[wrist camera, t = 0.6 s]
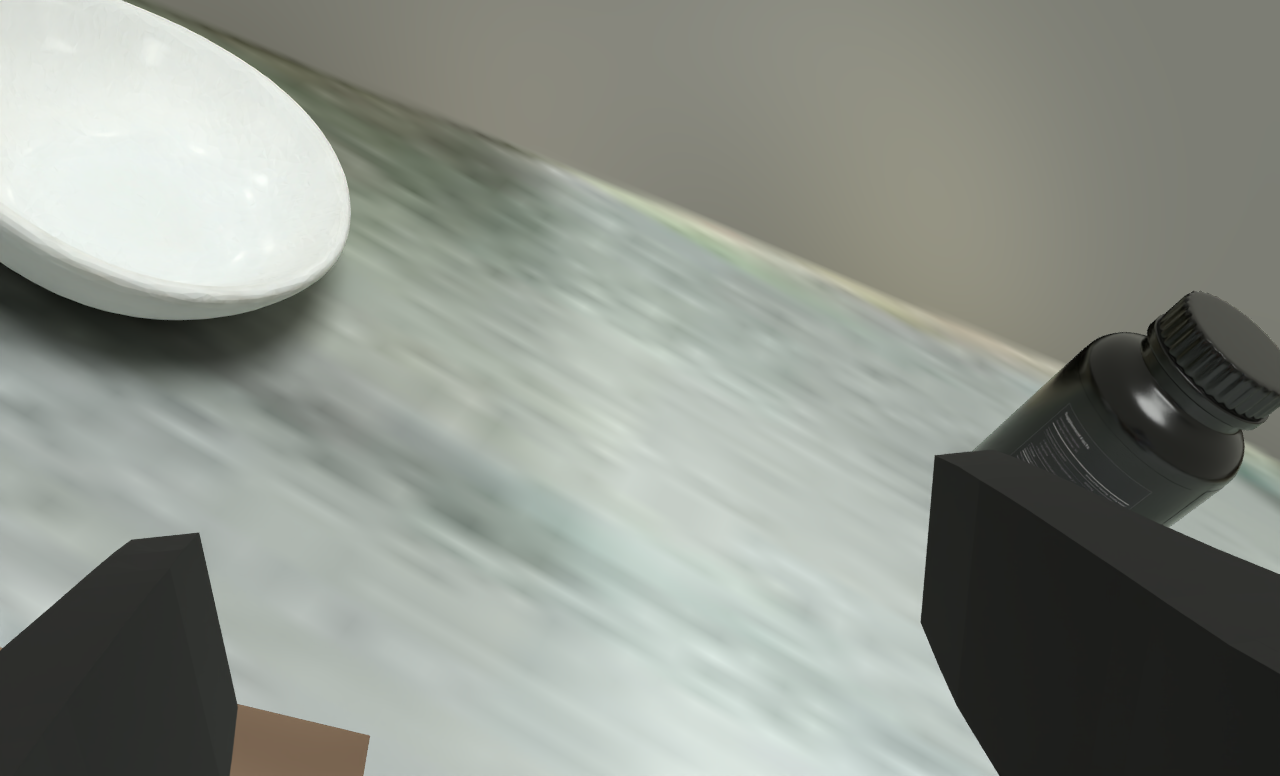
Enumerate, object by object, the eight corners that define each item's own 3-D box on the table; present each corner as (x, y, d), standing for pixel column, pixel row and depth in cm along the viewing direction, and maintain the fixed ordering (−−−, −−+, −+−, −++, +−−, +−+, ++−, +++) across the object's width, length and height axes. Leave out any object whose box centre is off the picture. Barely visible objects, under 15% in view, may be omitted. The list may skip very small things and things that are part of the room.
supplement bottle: (985, 446, 50) (1200, 254, 43) (1098, 571, 48) (1343, 391, 41) (911, 493, 45) (1141, 285, 38) (1034, 635, 43) (1300, 444, 36)
